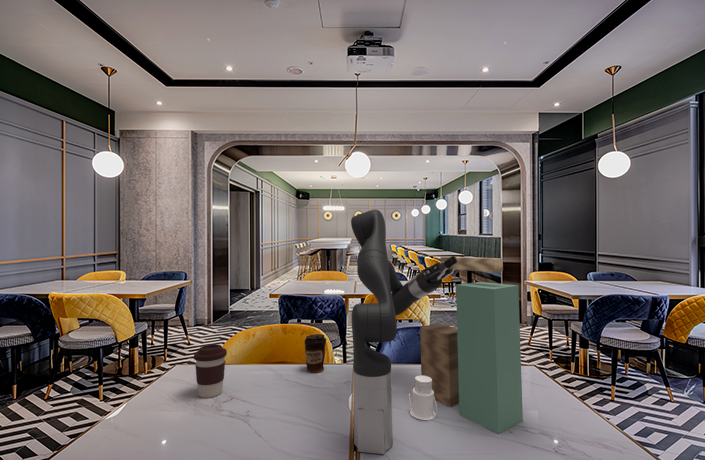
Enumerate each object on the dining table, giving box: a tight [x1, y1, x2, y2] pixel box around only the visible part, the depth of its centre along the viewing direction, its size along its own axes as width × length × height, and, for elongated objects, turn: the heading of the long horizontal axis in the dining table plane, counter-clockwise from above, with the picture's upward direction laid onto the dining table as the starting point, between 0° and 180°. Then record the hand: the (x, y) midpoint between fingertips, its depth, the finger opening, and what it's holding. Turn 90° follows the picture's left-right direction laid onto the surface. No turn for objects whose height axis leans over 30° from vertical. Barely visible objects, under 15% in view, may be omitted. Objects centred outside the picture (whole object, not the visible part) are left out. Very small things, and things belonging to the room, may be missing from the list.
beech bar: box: [439, 256, 504, 273], centre depth 101 cm, size 19×4×4 cm, turn 33°
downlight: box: [408, 375, 438, 421], centre depth 97 cm, size 8×7×10 cm
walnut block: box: [419, 322, 459, 408], centre depth 109 cm, size 12×8×21 cm
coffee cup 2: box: [304, 333, 327, 374], centre depth 133 cm, size 9×8×13 cm
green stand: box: [455, 281, 524, 434], centre depth 96 cm, size 12×11×36 cm
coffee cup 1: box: [193, 343, 228, 399], centre depth 113 cm, size 10×10×15 cm
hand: (459, 258), depth 104 cm, fingers closed on beech bar, 3 cm apart
